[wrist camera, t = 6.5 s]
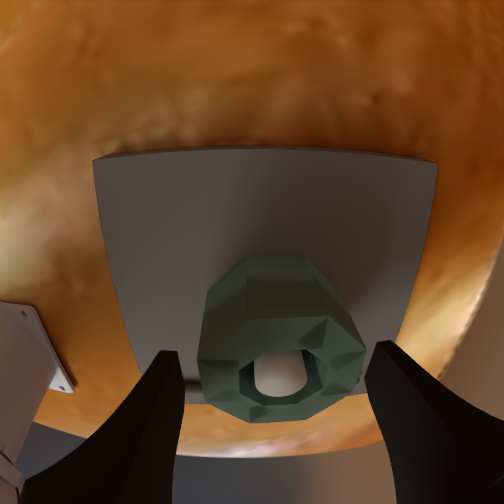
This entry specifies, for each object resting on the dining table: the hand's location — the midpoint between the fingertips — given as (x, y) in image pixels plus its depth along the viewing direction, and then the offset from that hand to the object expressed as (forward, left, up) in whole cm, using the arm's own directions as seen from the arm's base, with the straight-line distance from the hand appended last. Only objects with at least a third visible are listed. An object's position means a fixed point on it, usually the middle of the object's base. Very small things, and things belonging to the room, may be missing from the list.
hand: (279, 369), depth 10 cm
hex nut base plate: (0, 0, -5) cm, 5 cm away
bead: (0, 0, -3) cm, 3 cm away
